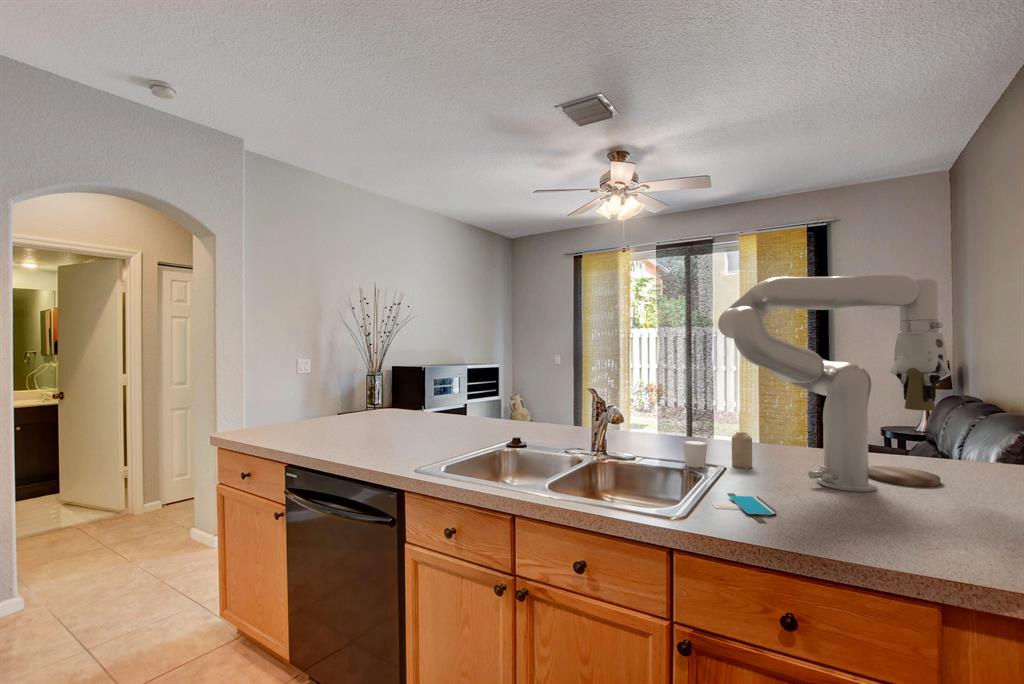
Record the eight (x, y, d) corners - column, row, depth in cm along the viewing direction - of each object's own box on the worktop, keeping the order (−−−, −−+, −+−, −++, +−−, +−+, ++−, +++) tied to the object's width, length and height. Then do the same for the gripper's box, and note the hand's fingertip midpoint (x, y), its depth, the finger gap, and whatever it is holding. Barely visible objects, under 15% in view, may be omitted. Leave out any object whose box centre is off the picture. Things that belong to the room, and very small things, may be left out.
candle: (743, 469, 143) (743, 434, 143) (727, 465, 148) (727, 432, 148) (756, 467, 146) (756, 433, 146) (740, 463, 151) (739, 430, 151)
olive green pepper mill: (910, 407, 128) (909, 364, 128) (939, 409, 123) (939, 365, 123) (900, 408, 125) (899, 365, 125) (930, 411, 120) (929, 366, 120)
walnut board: (906, 488, 123) (906, 482, 123) (850, 473, 138) (849, 467, 138) (956, 484, 126) (956, 479, 126) (895, 469, 142) (895, 464, 142)
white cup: (709, 468, 144) (709, 444, 144) (685, 467, 145) (684, 444, 146) (705, 463, 151) (705, 440, 151) (681, 462, 152) (681, 439, 152)
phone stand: (701, 495, 120) (701, 488, 120) (752, 496, 119) (752, 489, 119) (728, 524, 100) (728, 516, 100) (790, 526, 99) (789, 518, 99)
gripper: (967, 326, 117) (968, 403, 117) (897, 329, 133) (897, 397, 133) (943, 326, 115) (944, 404, 115) (875, 329, 131) (875, 397, 131)
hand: (919, 399), depth 124 cm, fingers closed on olive green pepper mill, 3 cm apart
